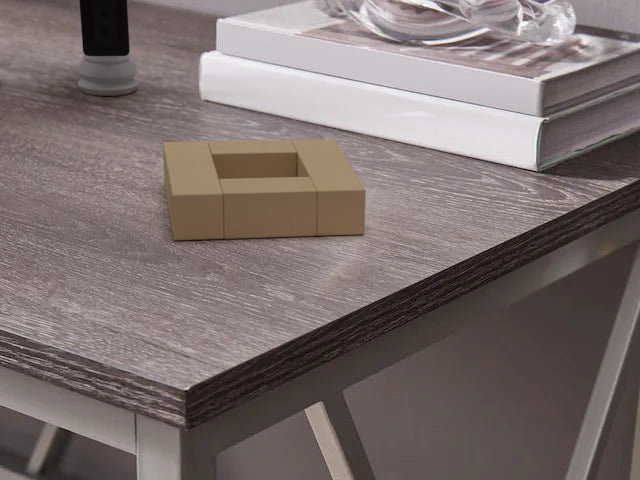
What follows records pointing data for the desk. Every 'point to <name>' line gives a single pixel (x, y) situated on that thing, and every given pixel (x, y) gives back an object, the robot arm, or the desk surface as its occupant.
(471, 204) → the desk surface
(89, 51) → the robot arm
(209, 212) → the socket pad
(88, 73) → the rook chess piece
